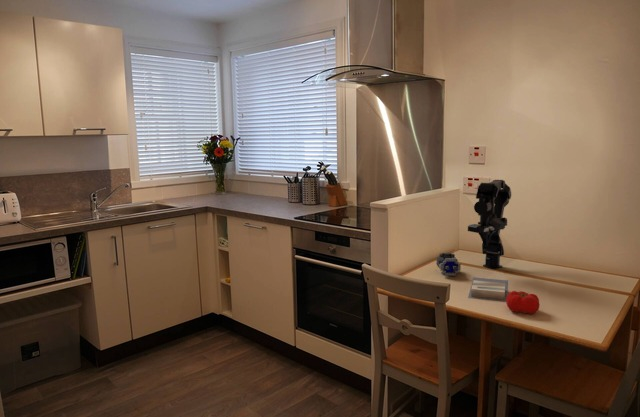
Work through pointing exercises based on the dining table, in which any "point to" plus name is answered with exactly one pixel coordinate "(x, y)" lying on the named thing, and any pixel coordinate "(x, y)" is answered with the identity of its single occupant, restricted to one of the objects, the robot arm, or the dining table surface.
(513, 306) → the tomato
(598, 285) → the dining table surface
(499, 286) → the board
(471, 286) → the mat
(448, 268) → the toy
